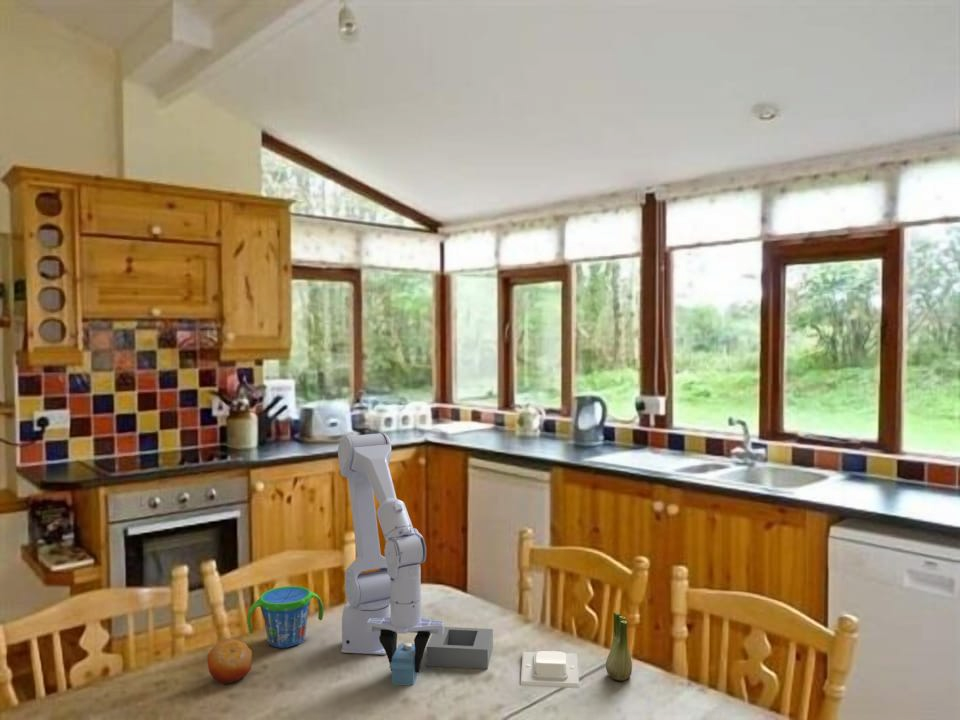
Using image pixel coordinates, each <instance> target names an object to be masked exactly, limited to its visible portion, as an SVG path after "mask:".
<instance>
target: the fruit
mask: <svg viewBox="0 0 960 720" xmlns="http://www.w3.org/2000/svg"><path fill="white" fill-rule="evenodd" d="M252 658H253V651H252V649H251V648H250V647H249V646H248V644H247V643H245V642H244V641H241V640H237V639H234V638H227V639H225V640H222V641H221V642H218V643H217V644H215V645H214V646H213V648H211V649H210V651H209V653H207V656H206V661H207V663H206V664H207V667H208V672H209V673H210V676H211V677H212V678H213V680H214V681H216V682H219V683H220V684H221V685H228V684H232V683H234V682H236V681H238V680H240V679H243V678H244V677H246V676H247V675H248V674H249V673H250V672H251V670H252V661H253V659H252Z"/></svg>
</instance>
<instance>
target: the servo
mask: <svg viewBox="0 0 960 720" xmlns="http://www.w3.org/2000/svg"><path fill="white" fill-rule="evenodd" d="M415 659H416V655H415V644H414V643H410V642H408V643H407V642H406V643H399V644H398V646H397V649H396V651H395V653H394V655H393V657H392V661H391V663H389V669H391V668H392V671H391V685H399V686H400V685H402V686H403V685H404V686H414V684H415V682H416V680H417V678H418V675H419V673H416V672H415Z"/></svg>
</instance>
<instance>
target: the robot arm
mask: <svg viewBox="0 0 960 720" xmlns="http://www.w3.org/2000/svg"><path fill="white" fill-rule="evenodd" d="M337 447H338V448H337V457H338V463H339V464H338V466H339V471H340V475H341V476H342V477H344V478H346V479H347V482H348V490H349V498H350V506H351V516H352V523H353V525H352V526H353V533H354V542H355V549H356V551H355V552H356V558H355V559H354V560H353V561H352V562H351V563H350V564H349V565H348V567H346V569H345V575H344V576H345V582H344V583H345V584H344V592H345V598H346V601H347V603H346V604H345V605H344V607H343V611H342V617H341V649H340V652H341V653H343V654H344V653H346V654H365V655H366V654H367V655H386V656H387V660H388V663H389V664H390V663H391V661H392V657H393V655H394V653H395V651H396V649H397V647H398V646H397V643H398V634H399V635H401V634H403V635H405V634H408V633H410V634H411V633H414V634H416V635H415V637H414V638H413V641H414V643H413V644H415V655H416V659H415V672H416V673H418V674H419V673H420V671H421V669H422V663H423V658H424V654H425V650H426V648H427V645H428V643H429V640H430V638H431V636H432V634H437V635H443V634H444V627H445V621H443V620H441V621H440V620H434V619H430V618H425V617H422V610H421V609H422V608H421V607H422V605H421V604H422V603H421V597H422V596H421V595H422V593H421V591H422V590H421V589H422V588H421V584H422V583H421V582H422V581H421V580H422V579H421V577H422V576H421V571H422V570H421V564H423V563H424V562H425V561H426V558H427V546H426V542H425V539H424V536H423V535H422V534H421V533H420V532H419V530H418V529H417V528H414V526H413V524H412V520H411V518H410V516H409V513H408V510H407V507H406V504H405V502H404V501H403V500H400V499H398V498H397V495H396V490H395V485H394V482H393V479H392V478H393V477H392V474H391V470H390V467H389V464H390V462H391V458H392V443H391V440H390V437H389V436H388V434H387V433H385V432H380V433H369V434H358V435H342V437H341V439H340V440H339V443H338V446H337ZM374 495H375V496H374ZM375 498H376V500H377V502H378V505H379V506H378V508H377V510H376V503H375ZM377 518H378V522H379V525H380V528H381V532H382V534H383V537H384V541H385V546H384V549H383V551H384V552H383V553H384V556H383V555H382V554H381V553H382V552H381V545H380V536H379V529H378V522H377ZM378 569H379V570H378ZM371 570H374V571H371ZM369 571H370V572H369ZM364 572H365V573H364ZM390 671H391V672H392V668H390Z"/></svg>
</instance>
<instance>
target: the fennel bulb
mask: <svg viewBox="0 0 960 720" xmlns="http://www.w3.org/2000/svg"><path fill="white" fill-rule="evenodd" d="M612 632H613V634H612V642H611V646H610V650H609V653H608V655H607V657H606V660H605V669H606V670H605V671H606V673H607V674H608V676H610V677H611V678H612V679H613V680H615V681H621V682H622V681H626V680H627V679H629V678H630V677H631V676H632V673H633V672H632V671H633V662H632V657H631V656H632V655H631V652H630V649H629V646H628V621H627V617H625V616H623V615H621V612H620V611H617V610H616V611H613V630H612Z"/></svg>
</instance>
